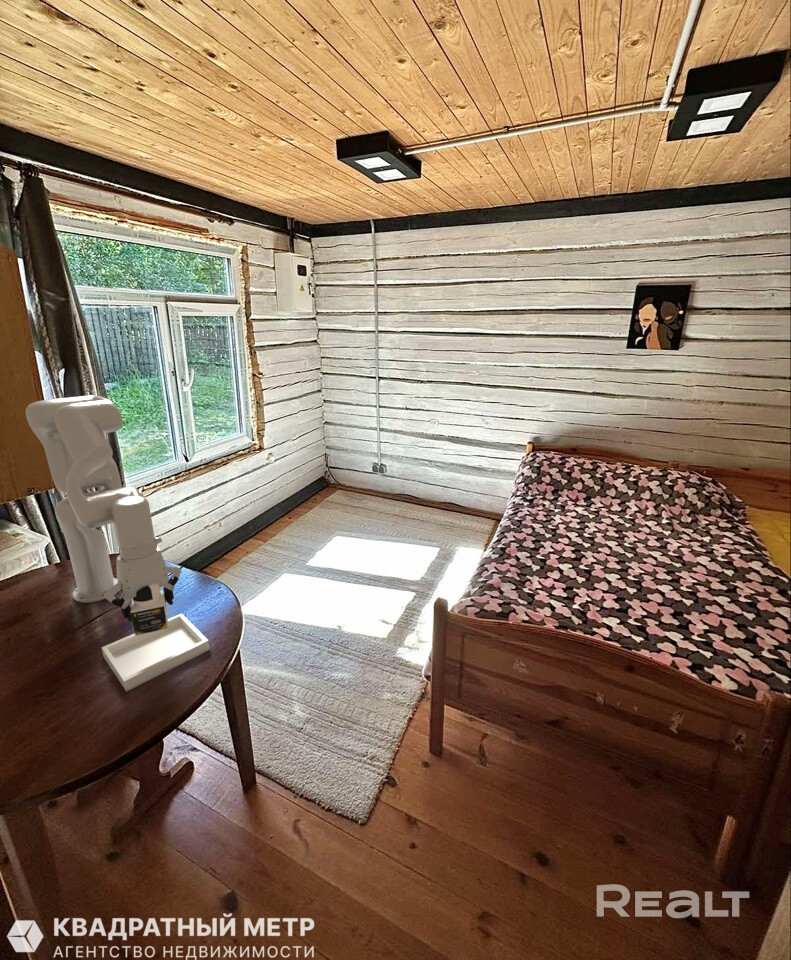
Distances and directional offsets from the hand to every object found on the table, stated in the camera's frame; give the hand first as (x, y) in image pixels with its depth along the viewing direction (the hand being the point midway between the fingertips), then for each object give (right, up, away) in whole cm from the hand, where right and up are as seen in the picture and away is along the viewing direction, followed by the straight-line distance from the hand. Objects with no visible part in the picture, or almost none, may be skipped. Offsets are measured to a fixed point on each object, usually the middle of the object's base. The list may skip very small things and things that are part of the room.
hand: (149, 610), depth 115 cm
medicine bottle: (0, -4, +1) cm, 4 cm away
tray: (0, -12, +5) cm, 13 cm away
